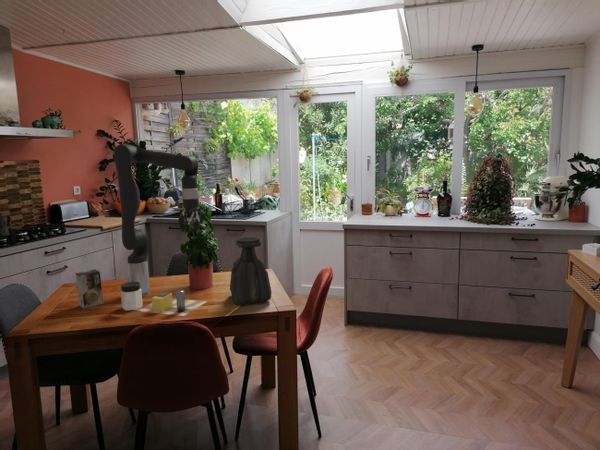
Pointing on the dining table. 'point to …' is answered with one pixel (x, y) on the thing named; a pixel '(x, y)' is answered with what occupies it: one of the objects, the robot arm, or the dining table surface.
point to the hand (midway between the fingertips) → (192, 230)
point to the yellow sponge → (162, 302)
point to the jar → (131, 296)
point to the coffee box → (89, 288)
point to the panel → (189, 306)
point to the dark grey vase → (249, 275)
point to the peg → (180, 301)
